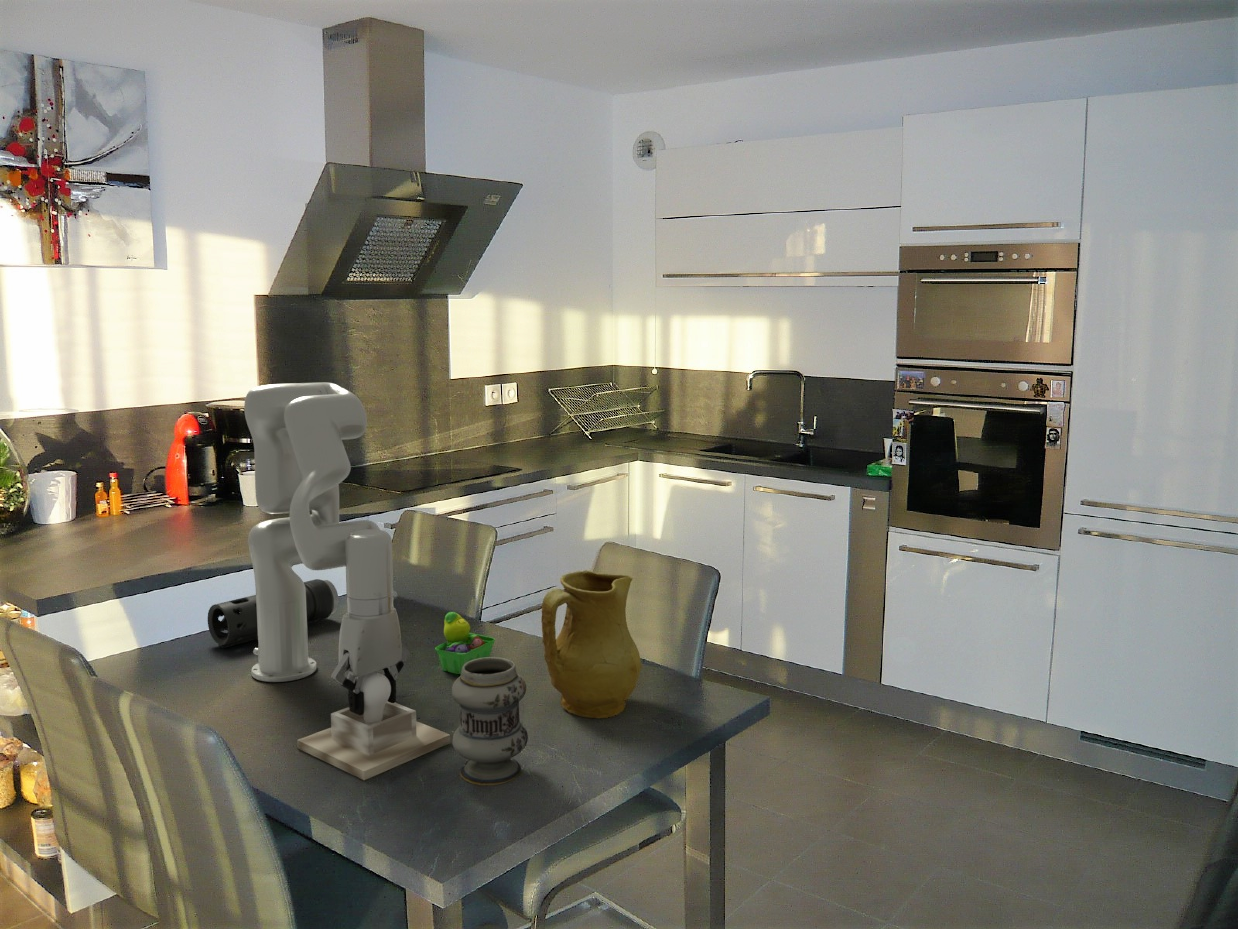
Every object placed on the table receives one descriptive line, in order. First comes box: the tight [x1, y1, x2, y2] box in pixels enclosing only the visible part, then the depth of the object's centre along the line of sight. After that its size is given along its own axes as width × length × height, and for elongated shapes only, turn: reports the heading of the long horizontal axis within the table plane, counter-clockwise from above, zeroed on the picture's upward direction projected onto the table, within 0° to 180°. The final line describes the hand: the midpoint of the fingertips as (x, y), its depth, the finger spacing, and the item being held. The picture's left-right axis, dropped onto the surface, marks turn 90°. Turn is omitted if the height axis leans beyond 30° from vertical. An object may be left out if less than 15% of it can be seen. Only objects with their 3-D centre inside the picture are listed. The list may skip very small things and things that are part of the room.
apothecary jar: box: [451, 656, 529, 786], centre depth 162 cm, size 12×12×18 cm
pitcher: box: [540, 569, 642, 719], centre depth 188 cm, size 17×19×25 cm
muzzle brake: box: [207, 578, 339, 649], centre depth 229 cm, size 10×28×10 cm, turn 141°
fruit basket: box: [435, 611, 496, 676], centre depth 210 cm, size 11×9×11 cm
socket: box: [297, 701, 451, 781], centre depth 172 cm, size 18×18×6 cm
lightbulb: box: [360, 671, 391, 726], centre depth 171 cm, size 6×6×11 cm
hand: (372, 706), depth 171 cm, fingers closed on lightbulb, 5 cm apart
